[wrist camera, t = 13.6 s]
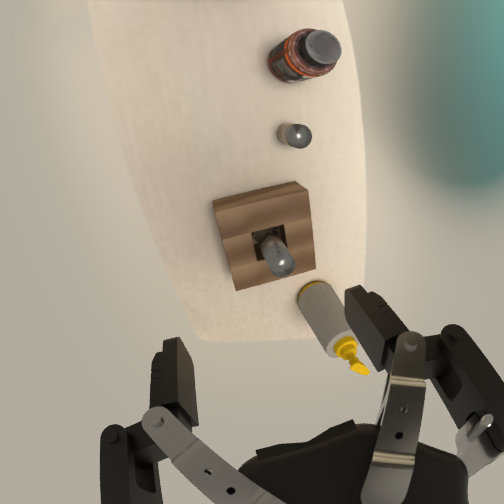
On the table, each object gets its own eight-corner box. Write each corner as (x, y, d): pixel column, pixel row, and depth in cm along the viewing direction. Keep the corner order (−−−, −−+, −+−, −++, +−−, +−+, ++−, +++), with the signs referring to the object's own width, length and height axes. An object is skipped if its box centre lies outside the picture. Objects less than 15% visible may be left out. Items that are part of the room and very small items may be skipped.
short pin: (275, 124, 35) (286, 126, 31) (296, 121, 36) (309, 123, 31) (279, 145, 37) (290, 150, 33) (299, 142, 37) (313, 146, 33)
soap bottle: (311, 315, 52) (351, 388, 37) (287, 299, 49) (325, 378, 34) (338, 290, 51) (387, 359, 35) (315, 271, 48) (366, 344, 32)
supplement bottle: (300, 90, 34) (338, 84, 24) (260, 72, 32) (286, 56, 22) (315, 55, 31) (357, 40, 22) (277, 37, 30) (307, 12, 20)
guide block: (212, 200, 39) (214, 212, 34) (295, 181, 40) (307, 190, 35) (231, 272, 45) (235, 291, 40) (304, 253, 45) (316, 268, 41)
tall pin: (250, 222, 41) (268, 258, 32) (270, 217, 42) (293, 251, 32) (253, 240, 43) (272, 280, 33) (273, 235, 43) (296, 273, 33)
